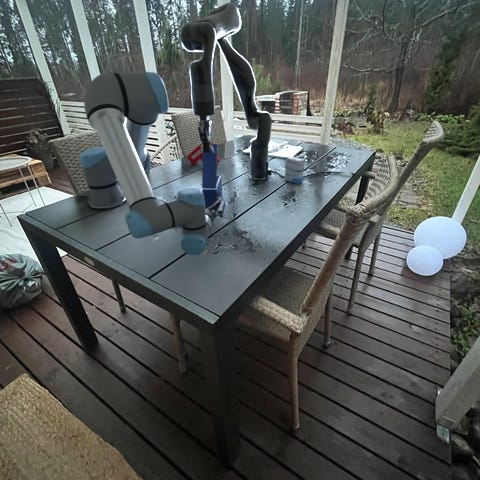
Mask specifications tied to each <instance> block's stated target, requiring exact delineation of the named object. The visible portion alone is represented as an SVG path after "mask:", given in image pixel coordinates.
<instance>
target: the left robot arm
mask: <svg viewBox="0 0 480 480" xmlns="http://www.w3.org/2000/svg"><path fill="white" fill-rule="evenodd" d="M83 104H84V112H85V117H86V119H87V121H88V124H89V126H90V128H91V129H93V130H94V131H96V133H97V135H98V137H99V140H100V142H101V144H102V146H96V147H92V148H89V149H86V150H84V151H83V152H81V153H80V154H79V162H80V168H82V171H83V174H84V177H85V180H86V184H87V187H88V195H83V194H78V197H79V198H83V199H88V205H89V207H90V208H91V209H92V210H96V211H97V210H98V211H105V210H112V209H115V208H118V207H120V206H122V205H124V204H125V203H127V205H128V208H129V210H130V211H128V212H126V213H125V216H124V217H125V222H126V225H127V229H128V230H129V233H130V234H131V236H132V237H133V238H134V239H143V238H146V237H152V236H154V235H156V234H159V233H162V232H166V231H169V230H172V229H176V228H177V227H180V226H181V230H182V236H181V239H180V248H181V250H182V252H184V253H186V254H187V255H189V256H199V255H200V254H203V252H204V251H205V249H206V246H207V245H208V240H209V236H210V234H211V230H212V226H213V224H214V221H215V219H216V217H220V218H223V217H224V210H225V207H226V201H225V199H223V197H222V198H221V197H220V192H218V194H217V197H216V202H215V203H214V204H213V205H212V206H209V207H208V208H205V199H204V194H203V190H202V189H200V188H199V187H196V186H194V187H193V186H187V187H186V186H185V187H183V188H181V189H179V190H178V191H177V193H176V195H177V196H176V199H172V200H168V201H164V202H161V203H159V201H158V199H157V197H156V194H155V192H154V189H153V187H152V185H151V182H150V180H149V178H148V176H147V173H146V172H148V171H149V170H150V168H151V155H150V152H149V149H148V148H147V141H148V137H149V134H150V129H151V126H152V125H154V124H155V123H156V122H157V120H158V117H159V115H164V114H166V113H168V111H169V107H170V106H169V105H170V104H169V96H168V91H167V89H166V85H165V83H164V80H163V79H162V77H161V76H160V74H158V73H157V72H153V71H147V70H144V71H129V72H128V71H127V72H126V71H124V72H122V71H121V72H103V73H100V74H99V75H97V76H96V77H94V78H93V79H92V80H91V82H90V83H89V84H88V87H87V89H86V91H85V95H84V103H83ZM218 208H219V209H218ZM217 209H218V211H217V212H215V211H216V210H217Z"/></svg>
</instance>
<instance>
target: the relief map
mask: <svg viewBox="0 0 480 480" xmlns="http://www.w3.org/2000/svg"><path fill="white" fill-rule="evenodd" d="M302 147H303V146H294V145H292V144H290V143H289V142H288V141H284V142H282V143H280V144H279V143H278V142H276V141H273V140H272V139H271V138H270V141H269V145H268V157H271V158H277V159H285V160H286V159H287V158H289V157H296V156H297V155H298V154H299V153H300V152H302V151H303V150H304V148H303V149H302ZM250 148H251V145H250V146H249V147H248V148H247V149H245V150H242V153H243V154H247V155H248V154H249V155H250ZM296 153H297V154H296Z"/></svg>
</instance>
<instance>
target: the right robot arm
mask: <svg viewBox="0 0 480 480" xmlns="http://www.w3.org/2000/svg"><path fill="white" fill-rule="evenodd" d="M241 26H242V19H241V14H240V11H239V8H238V6H237V5H236V4H235V3H234V2H230V1H229V2H225V3H223V4H222V5H220V6H218V7H216V8H213V9H212V10H210V11H209V12H208V16H205V17H204V18H202V19H199V20H193V21H187V22H185V23H184V24H183V25H182V26H181V29H180V32H179V39H180V43H181V45H182V47H183V48H184V49H185V50H186V51H187V52H190V53H191V52H192V53H194V52H195V53H199V52H201V53H202V55H201V58H200V59H198V60H194V61H192V62H190V63H189V78H190V96H191V107H192V115H194V116H197V117H199V120H198V121H197V123H198V124H197V125H198V127H197V130H198V134H199V138H200V142H201V143H203V152H204V153H209V152H210V150H211V149H210V148H209V145H210V141H211V137H212V119H210V116H213V115H215V114H216V104H215V103H216V101H215V90H214V89H215V88H214V84H213V80H214V79H213V63H214V62H213V61H214V54H215V49H216V45H218V47H219V49H220V52H221V54H222V55H223V58H224V61H225V63H226V66H227V69H228V71H229V73H230V77H231V79H232V82H233V85H234V87H235V90H236V92H237V95H238V98H239V101H240V103H241V105H242V109H243V113H244V116H245V119H246V123H247V125H248V127H249V129H250V130H251V131H254V132H256V137H254V138H251V139H250V146H251V148H250V154H249V157H250V158H249V160H250V161H249V165H250V166H249V178H250V180H253V181H256V182H257V181H265V180H268V179H269V176H272V174H276V175H278V176H279V177H280V178H284V179H285V175H282V174H281V173H279V172H277V171H274V170H272V168H271V167H269V156H268V145H269V141H270V139H271V136H272V128H273V127H272V126H273V120H272V115H271V113H270V112H268V111H262V110H259V109H258V106H257V104H256V100H255V95H256V94H255V93H256V87H257V81H256V78H255V74H254V72H253V68H252V66H251V64H250V62H248V60H247V59H245V57H244V56H243V55H241V54H239V53H238V51H236V50H235V49H234V48H233V46H232V44H231V43H230V41H229V40H228V37H230V36H232V35H234V34H236V33H237V32H239V31H240V29H241ZM341 172H342V171H319V173H318V172H314V173H315V174H314V173H310V174H311V175H309V174H306V175H307V176H305V175H303V179H304V178H308V177H311V176H315V175H321V174H335V175H336V174H338V175H339V174H340V175H341V174H342V173H341ZM350 174H351V175H352V176H355V173H354V172H353V173H350Z"/></svg>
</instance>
